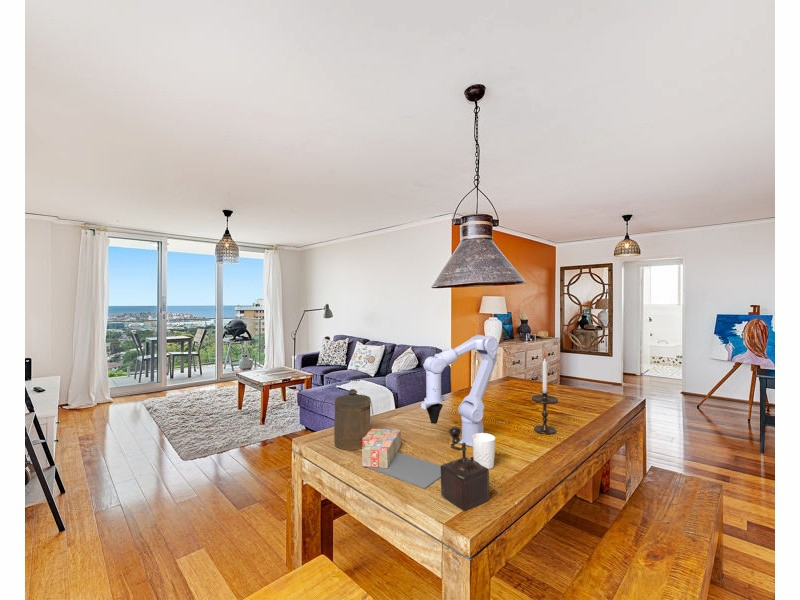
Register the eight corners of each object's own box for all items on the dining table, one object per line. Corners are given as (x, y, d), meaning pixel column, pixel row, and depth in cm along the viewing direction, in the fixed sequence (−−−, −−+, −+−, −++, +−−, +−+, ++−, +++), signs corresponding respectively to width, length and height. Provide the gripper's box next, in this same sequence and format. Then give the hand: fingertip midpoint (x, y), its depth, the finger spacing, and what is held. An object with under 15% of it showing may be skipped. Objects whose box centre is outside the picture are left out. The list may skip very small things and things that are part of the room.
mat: (396, 452, 145) (396, 451, 145) (451, 470, 130) (451, 468, 130) (368, 468, 132) (367, 466, 132) (424, 489, 118) (424, 487, 118)
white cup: (468, 465, 134) (467, 437, 134) (480, 458, 139) (480, 431, 139) (487, 472, 128) (487, 443, 128) (499, 465, 134) (499, 436, 134)
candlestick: (560, 436, 160) (560, 353, 160) (533, 434, 162) (533, 353, 162) (555, 427, 171) (555, 349, 170) (530, 426, 173) (529, 349, 173)
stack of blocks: (387, 450, 131) (353, 448, 133) (388, 468, 131) (354, 466, 133) (400, 429, 152) (370, 428, 154) (401, 444, 152) (371, 443, 154)
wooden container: (378, 440, 157) (377, 387, 157) (355, 453, 145) (354, 395, 145) (350, 434, 165) (350, 383, 165) (326, 445, 153) (326, 391, 153)
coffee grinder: (491, 499, 111) (491, 438, 111) (463, 512, 105) (463, 447, 105) (456, 478, 124) (455, 424, 124) (429, 488, 118) (429, 431, 118)
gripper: (435, 383, 155) (435, 416, 156) (414, 390, 144) (414, 426, 144) (450, 385, 151) (450, 419, 151) (429, 393, 140) (430, 430, 140)
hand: (434, 423), depth 147 cm, fingers closed
